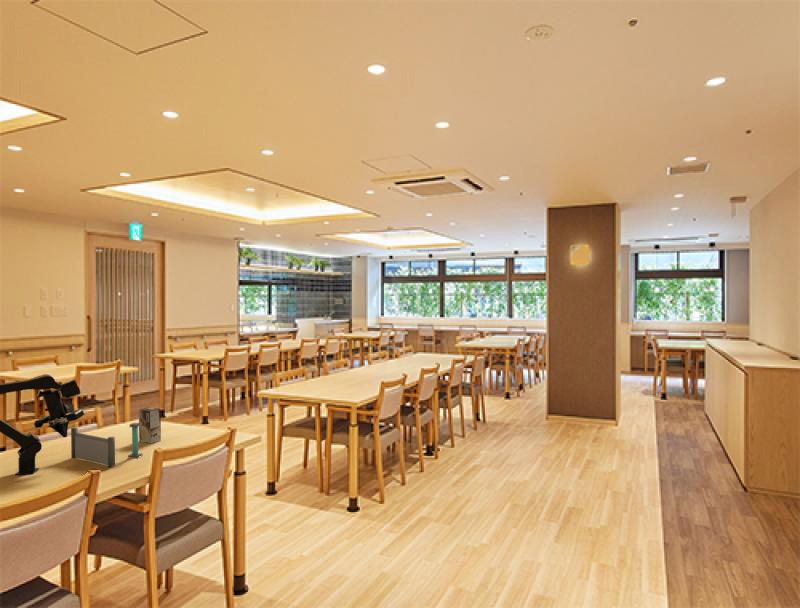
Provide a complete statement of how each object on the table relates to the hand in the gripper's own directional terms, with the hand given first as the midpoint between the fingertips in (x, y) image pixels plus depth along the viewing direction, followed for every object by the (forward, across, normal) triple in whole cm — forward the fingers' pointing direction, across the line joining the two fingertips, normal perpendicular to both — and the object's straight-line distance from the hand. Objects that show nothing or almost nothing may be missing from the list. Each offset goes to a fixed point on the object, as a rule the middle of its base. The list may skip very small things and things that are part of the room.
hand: (65, 436), depth 228 cm
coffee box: (+22, -14, -36) cm, 44 cm away
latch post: (+19, -20, -10) cm, 29 cm away
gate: (+14, -6, -2) cm, 15 cm away
